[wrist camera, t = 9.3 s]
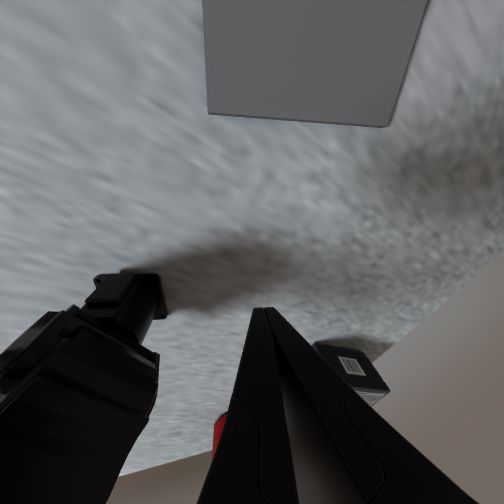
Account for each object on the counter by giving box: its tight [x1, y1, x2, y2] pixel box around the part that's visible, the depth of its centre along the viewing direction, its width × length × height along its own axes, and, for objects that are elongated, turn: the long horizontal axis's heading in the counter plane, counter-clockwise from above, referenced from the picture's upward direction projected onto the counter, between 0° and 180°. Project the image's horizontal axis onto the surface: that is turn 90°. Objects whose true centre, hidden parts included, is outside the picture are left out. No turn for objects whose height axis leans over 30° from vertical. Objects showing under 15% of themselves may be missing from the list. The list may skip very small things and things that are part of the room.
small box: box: [312, 344, 390, 406], centre depth 30 cm, size 11×6×10 cm
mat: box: [202, 0, 427, 128], centre depth 13 cm, size 9×15×1 cm, turn 87°
